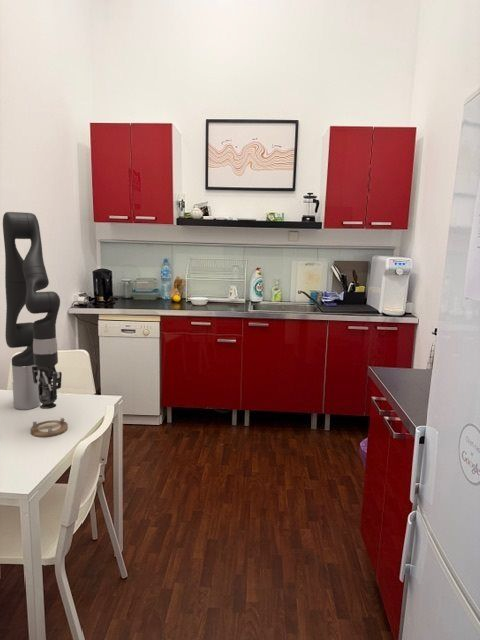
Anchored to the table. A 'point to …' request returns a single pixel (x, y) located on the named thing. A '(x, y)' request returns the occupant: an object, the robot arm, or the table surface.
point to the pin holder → (49, 428)
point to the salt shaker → (46, 396)
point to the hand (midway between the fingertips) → (47, 397)
